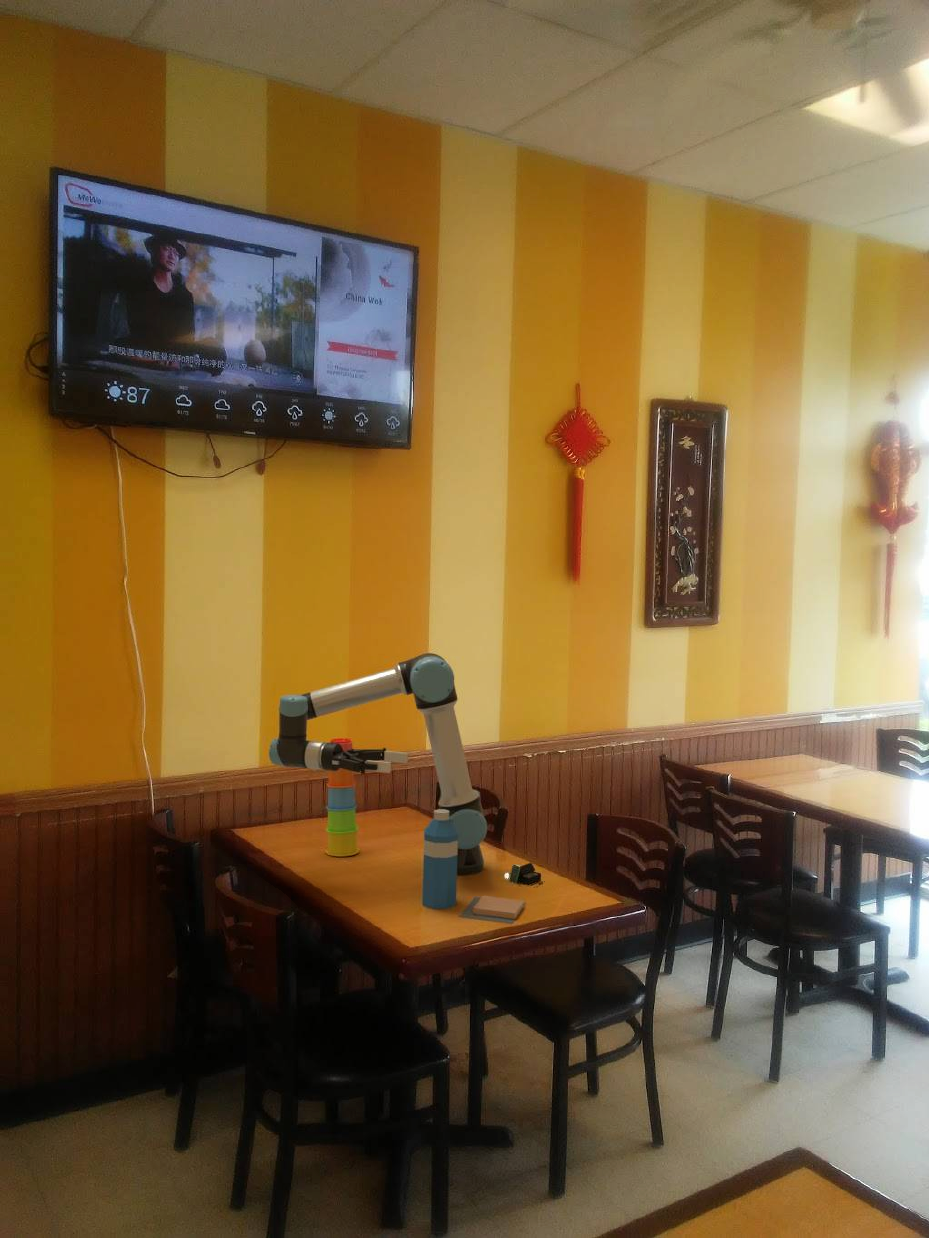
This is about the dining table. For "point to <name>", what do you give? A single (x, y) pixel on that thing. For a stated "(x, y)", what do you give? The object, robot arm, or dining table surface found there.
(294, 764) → the robot arm
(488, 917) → the mat
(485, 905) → the tile
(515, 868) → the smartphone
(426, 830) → the water bottle
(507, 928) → the dining table surface
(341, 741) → the stacking cups
